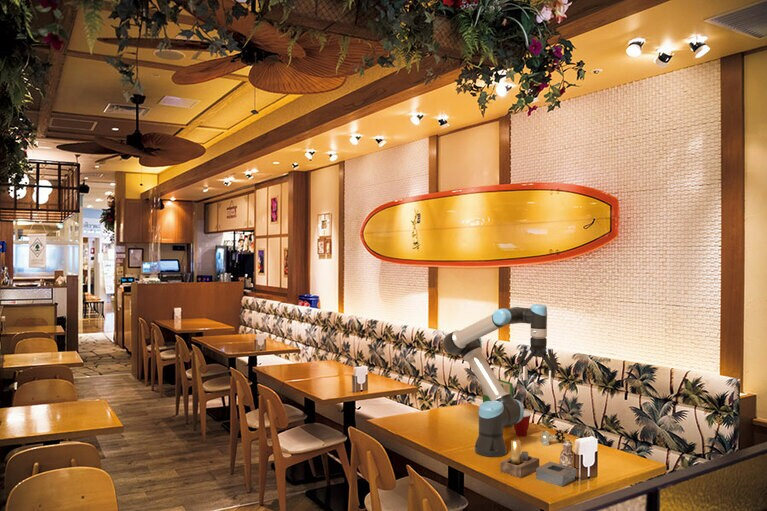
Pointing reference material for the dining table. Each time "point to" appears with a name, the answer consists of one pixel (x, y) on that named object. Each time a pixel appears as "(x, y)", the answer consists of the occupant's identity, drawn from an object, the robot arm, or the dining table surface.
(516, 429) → the plastic cup
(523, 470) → the box
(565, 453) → the figurine
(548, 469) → the socket block
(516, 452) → the translucent yellow cylinder
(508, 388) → the hardback book
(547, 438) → the valve
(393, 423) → the dining table surface
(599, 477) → the dining table surface
